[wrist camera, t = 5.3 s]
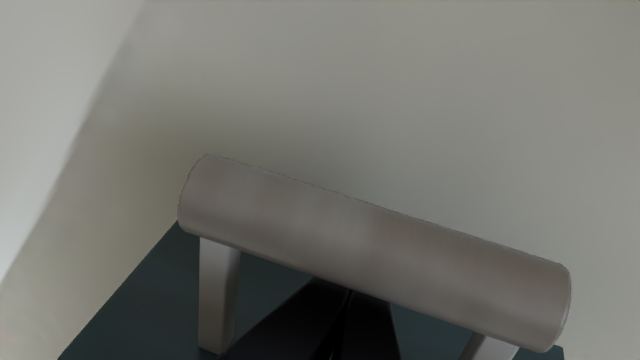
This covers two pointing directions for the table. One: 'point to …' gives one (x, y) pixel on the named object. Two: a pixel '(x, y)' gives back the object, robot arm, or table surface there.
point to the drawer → (322, 275)
